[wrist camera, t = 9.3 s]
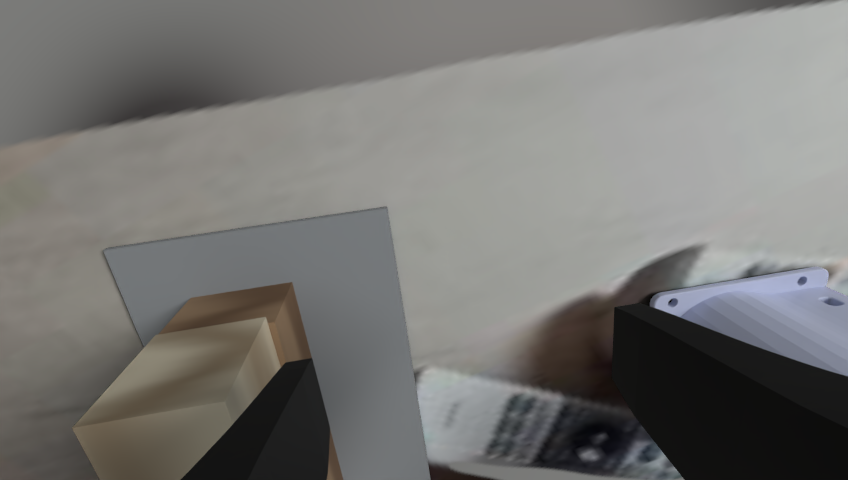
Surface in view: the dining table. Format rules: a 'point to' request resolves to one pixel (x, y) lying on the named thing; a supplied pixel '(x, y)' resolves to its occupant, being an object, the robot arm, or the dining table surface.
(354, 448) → the mat
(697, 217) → the dining table surface
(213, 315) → the block
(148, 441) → the plank
